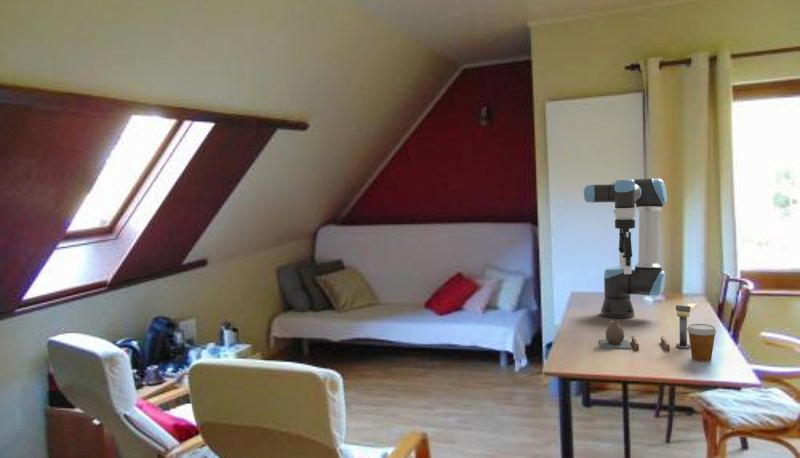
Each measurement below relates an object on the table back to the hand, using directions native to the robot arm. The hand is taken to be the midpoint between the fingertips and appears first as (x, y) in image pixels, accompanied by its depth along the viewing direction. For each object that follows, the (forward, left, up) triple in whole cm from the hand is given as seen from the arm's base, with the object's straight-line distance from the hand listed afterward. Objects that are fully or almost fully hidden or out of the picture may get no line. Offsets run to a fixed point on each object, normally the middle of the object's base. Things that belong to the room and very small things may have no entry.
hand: (625, 271), depth 245 cm
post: (+7, +20, -29) cm, 36 cm away
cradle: (+7, +8, -29) cm, 31 cm away
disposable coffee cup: (+22, +23, -29) cm, 43 cm away
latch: (+1, +23, -16) cm, 28 cm away
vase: (+6, -5, -28) cm, 29 cm away
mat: (+6, -5, -29) cm, 30 cm away
